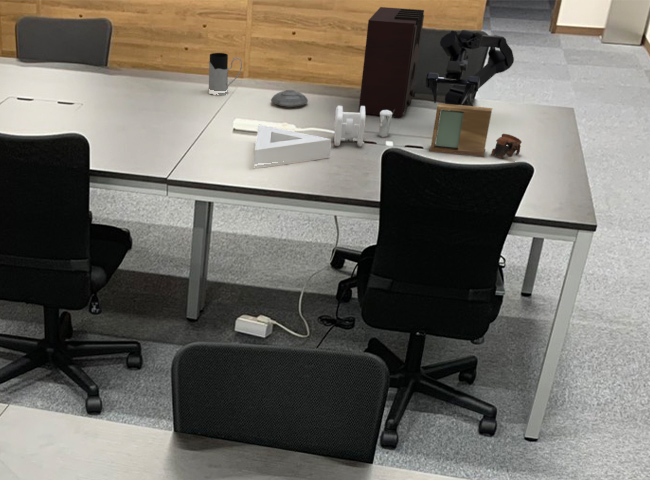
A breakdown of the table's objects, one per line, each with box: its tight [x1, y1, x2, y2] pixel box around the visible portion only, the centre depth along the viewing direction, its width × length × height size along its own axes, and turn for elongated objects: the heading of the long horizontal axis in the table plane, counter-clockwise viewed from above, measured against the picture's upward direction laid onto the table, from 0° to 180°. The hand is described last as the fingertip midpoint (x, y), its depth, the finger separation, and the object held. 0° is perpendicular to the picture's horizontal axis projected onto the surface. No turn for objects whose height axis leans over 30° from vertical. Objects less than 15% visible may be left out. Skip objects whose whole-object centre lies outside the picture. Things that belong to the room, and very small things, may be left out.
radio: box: [357, 6, 425, 119], centre depth 382 cm, size 19×27×35 cm
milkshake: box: [378, 110, 394, 138], centre depth 360 cm, size 4×5×10 cm
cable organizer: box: [333, 105, 366, 148], centre depth 353 cm, size 15×11×12 cm
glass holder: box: [208, 52, 243, 96], centre depth 406 cm, size 9×14×15 cm, turn 96°
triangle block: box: [253, 124, 332, 170], centre depth 346 cm, size 30×26×6 cm
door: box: [436, 110, 464, 148], centre depth 346 cm, size 7×9×12 cm
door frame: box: [429, 102, 493, 158], centre depth 344 cm, size 5×19×16 cm, turn 71°
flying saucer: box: [270, 89, 309, 108], centre depth 395 cm, size 15×15×6 cm
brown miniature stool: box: [490, 133, 522, 160], centre depth 343 cm, size 12×10×8 cm
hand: (447, 103), depth 352 cm, fingers open, 9 cm apart
